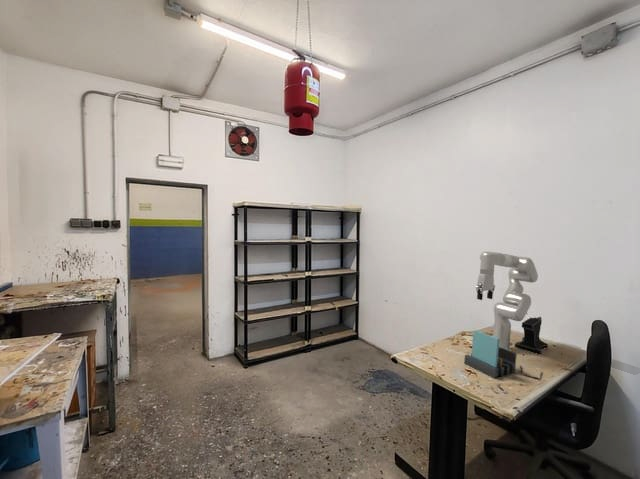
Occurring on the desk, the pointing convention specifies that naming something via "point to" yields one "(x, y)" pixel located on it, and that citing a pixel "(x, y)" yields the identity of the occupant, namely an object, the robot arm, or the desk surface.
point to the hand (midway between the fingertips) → (484, 299)
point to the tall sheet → (485, 348)
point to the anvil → (531, 336)
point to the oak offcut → (499, 361)
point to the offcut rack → (490, 370)
